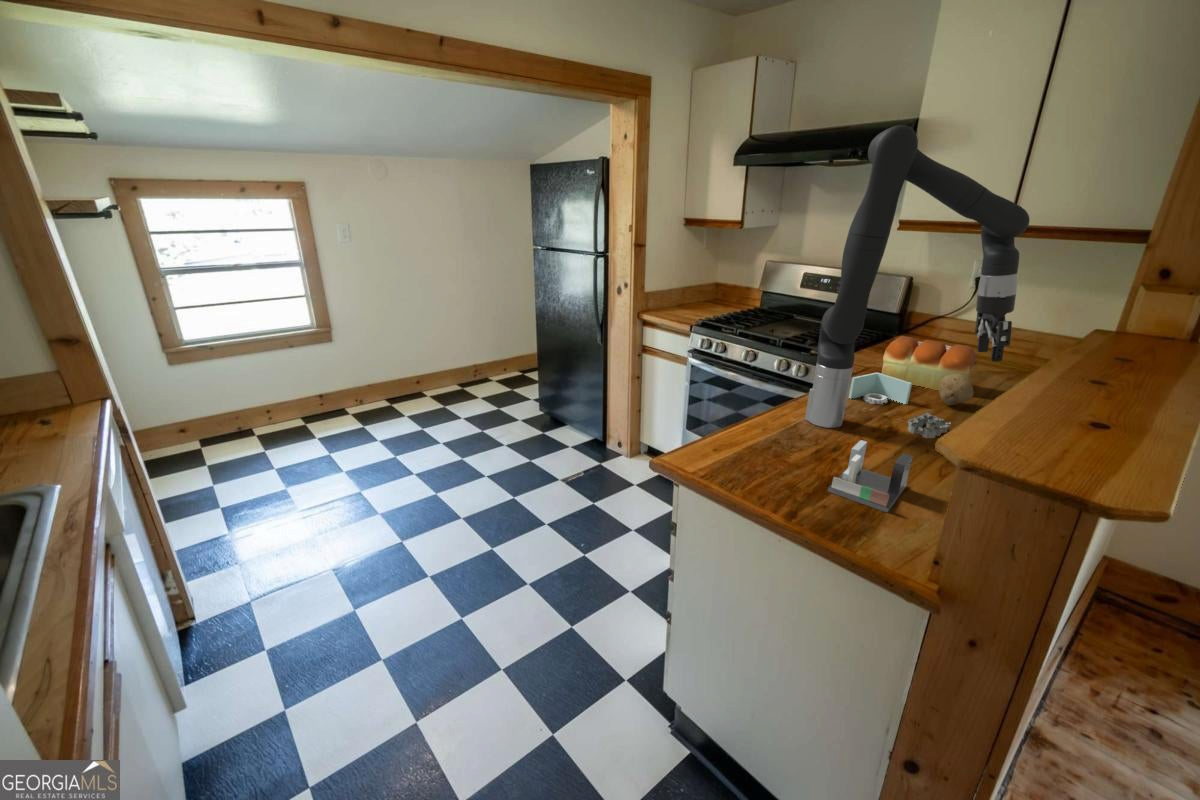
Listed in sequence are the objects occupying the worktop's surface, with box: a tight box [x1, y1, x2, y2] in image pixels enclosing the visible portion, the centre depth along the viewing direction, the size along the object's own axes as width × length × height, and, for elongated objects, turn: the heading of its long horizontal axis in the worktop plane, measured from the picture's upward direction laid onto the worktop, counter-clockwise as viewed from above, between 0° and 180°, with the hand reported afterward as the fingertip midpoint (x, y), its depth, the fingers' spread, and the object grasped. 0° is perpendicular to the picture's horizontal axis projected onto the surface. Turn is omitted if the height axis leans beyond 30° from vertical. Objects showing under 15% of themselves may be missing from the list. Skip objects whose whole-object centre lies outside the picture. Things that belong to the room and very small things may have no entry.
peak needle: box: [847, 454, 861, 483], centre depth 111 cm, size 1×4×7 cm, turn 138°
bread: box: [881, 335, 977, 391], centre depth 178 cm, size 25×12×15 cm, turn 47°
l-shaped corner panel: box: [847, 372, 913, 406], centre depth 163 cm, size 12×12×8 cm
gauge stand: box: [827, 453, 914, 513], centre depth 113 cm, size 12×14×8 cm
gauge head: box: [842, 439, 868, 480], centre depth 115 cm, size 1×10×7 cm, turn 137°
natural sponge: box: [938, 374, 974, 406], centre depth 159 cm, size 9×9×10 cm
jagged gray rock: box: [907, 412, 951, 439], centre depth 142 cm, size 11×8×4 cm
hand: (989, 356), depth 132 cm, fingers open, 8 cm apart
